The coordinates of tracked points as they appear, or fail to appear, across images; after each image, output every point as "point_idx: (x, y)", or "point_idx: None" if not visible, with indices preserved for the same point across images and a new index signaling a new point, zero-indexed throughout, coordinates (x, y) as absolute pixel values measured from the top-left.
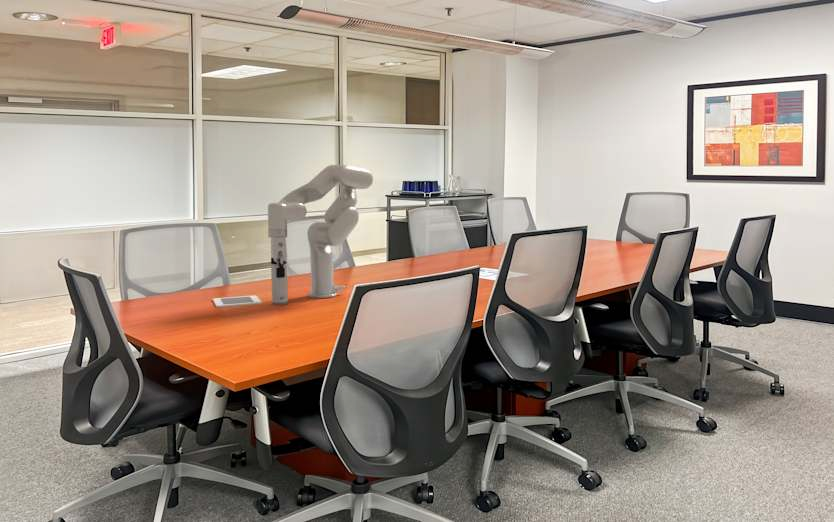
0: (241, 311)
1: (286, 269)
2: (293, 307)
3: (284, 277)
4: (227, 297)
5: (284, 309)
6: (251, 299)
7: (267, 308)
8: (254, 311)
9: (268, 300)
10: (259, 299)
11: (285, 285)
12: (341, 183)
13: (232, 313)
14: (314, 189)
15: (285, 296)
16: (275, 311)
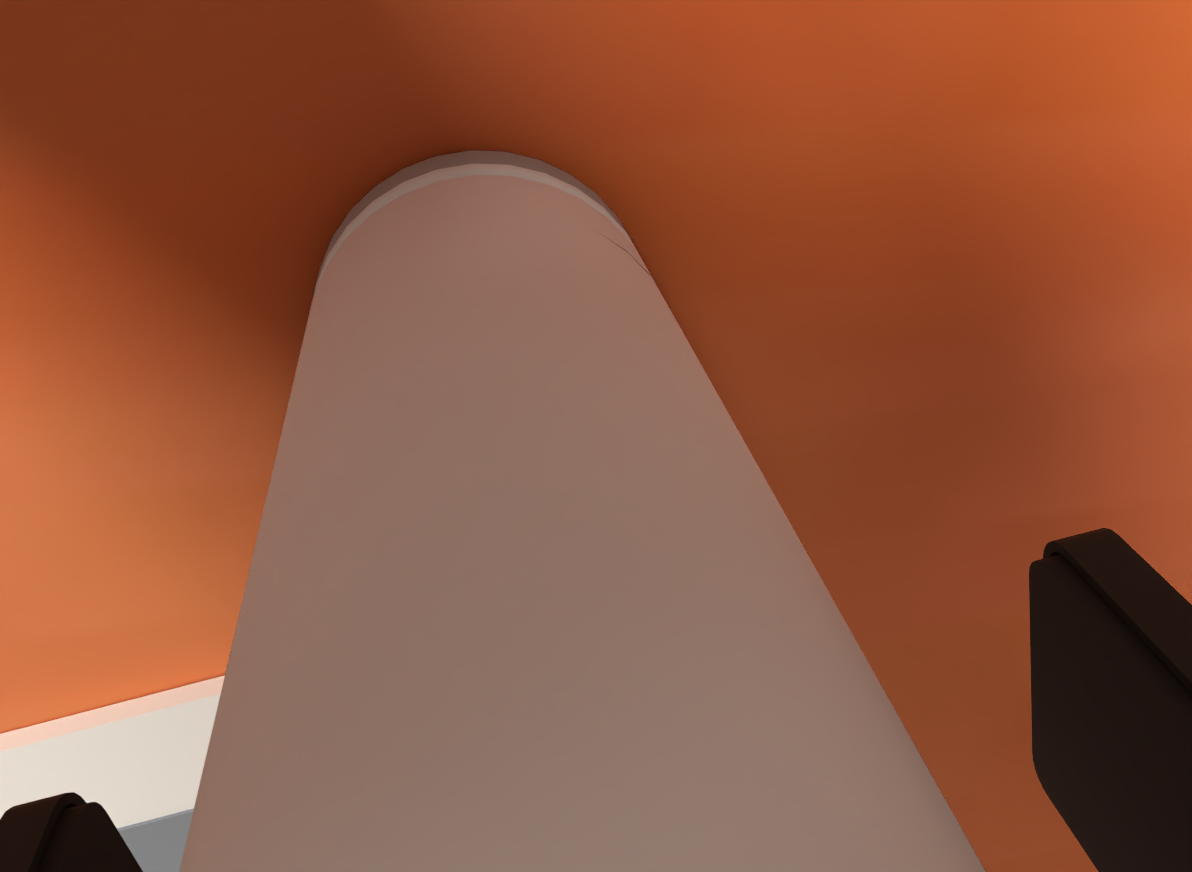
0: (946, 787)
1: (719, 682)
2: (932, 4)
3: (783, 525)
4: None
5: (1054, 190)
6: (175, 822)
7: (859, 490)
8: (1014, 639)
9: (108, 558)
10: (154, 712)
11: (672, 356)
12: None
13: (1027, 854)
14: None
15: (627, 248)
16: (1153, 339)
